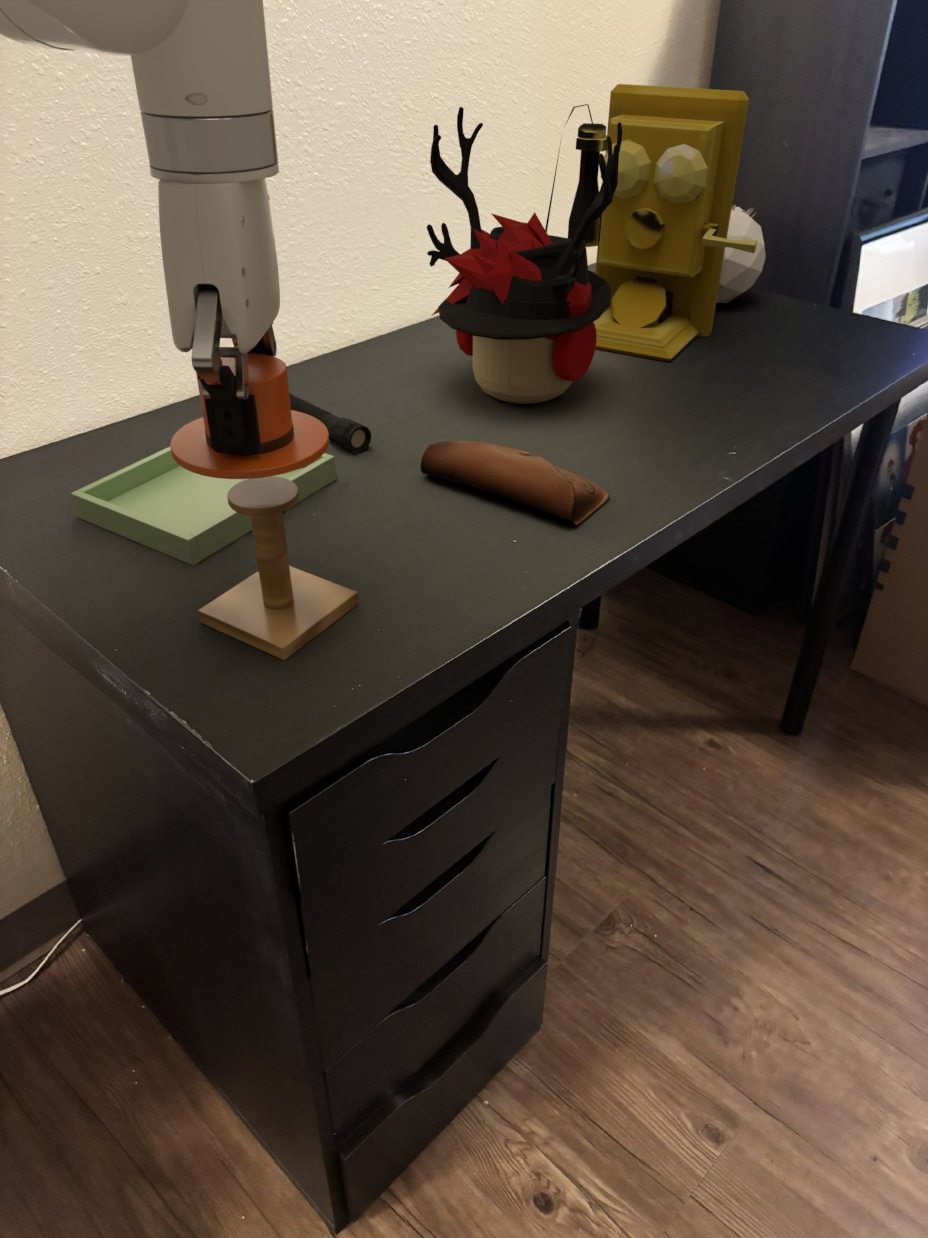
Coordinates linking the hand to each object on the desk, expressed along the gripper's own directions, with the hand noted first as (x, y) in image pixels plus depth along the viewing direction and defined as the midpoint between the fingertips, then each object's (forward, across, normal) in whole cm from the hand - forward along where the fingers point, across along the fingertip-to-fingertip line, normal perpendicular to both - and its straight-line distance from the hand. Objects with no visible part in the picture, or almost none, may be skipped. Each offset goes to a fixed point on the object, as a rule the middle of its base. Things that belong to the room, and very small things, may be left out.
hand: (249, 428), depth 64 cm
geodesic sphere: (+15, -88, +50) cm, 102 cm away
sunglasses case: (+16, -23, +19) cm, 34 cm away
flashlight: (+16, -36, -3) cm, 40 cm away
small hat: (+1, 0, 0) cm, 1 cm away
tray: (+16, -20, -10) cm, 27 cm away
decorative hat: (+15, -48, +20) cm, 54 cm away
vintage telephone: (+15, -70, +35) cm, 79 cm away
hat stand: (+16, 0, 0) cm, 16 cm away
